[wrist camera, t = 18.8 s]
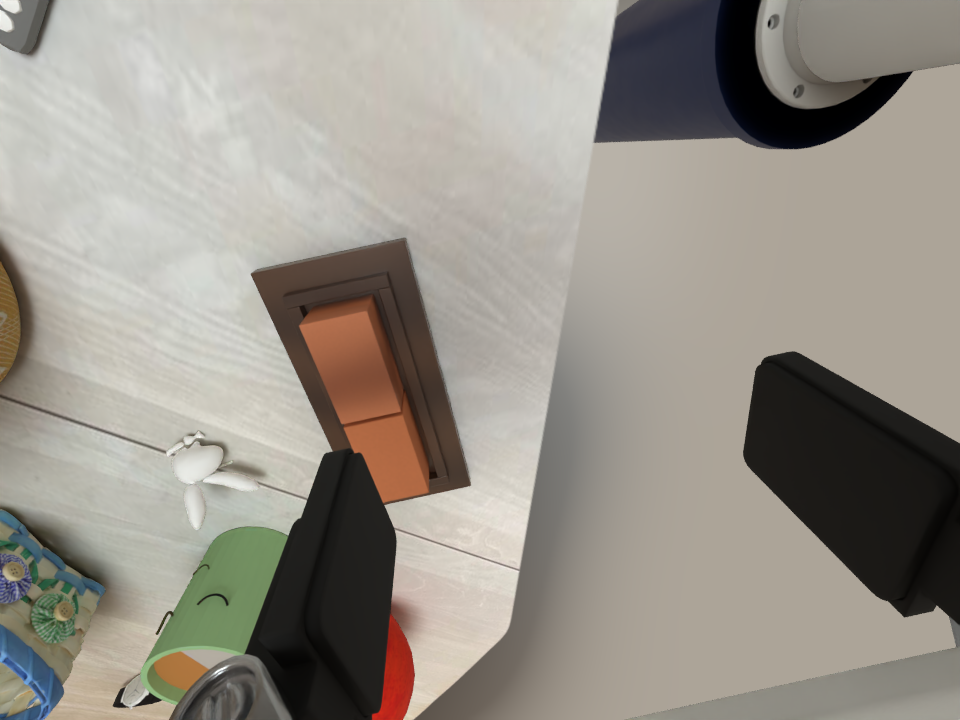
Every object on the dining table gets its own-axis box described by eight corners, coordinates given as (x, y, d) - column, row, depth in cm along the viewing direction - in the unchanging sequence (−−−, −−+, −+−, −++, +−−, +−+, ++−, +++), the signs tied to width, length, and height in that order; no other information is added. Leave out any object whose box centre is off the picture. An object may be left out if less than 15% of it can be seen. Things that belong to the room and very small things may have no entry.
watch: (169, 664, 54) (152, 696, 50) (190, 681, 56) (176, 713, 53) (114, 679, 54) (94, 713, 51) (138, 695, 56) (120, 729, 53)
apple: (412, 578, 51) (406, 708, 39) (420, 633, 56) (417, 762, 45) (314, 589, 50) (278, 726, 38) (332, 644, 55) (305, 778, 44)
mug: (264, 512, 44) (210, 629, 33) (321, 567, 48) (290, 685, 38) (165, 554, 45) (83, 680, 34) (231, 604, 50) (176, 728, 39)
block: (351, 401, 37) (342, 428, 34) (405, 389, 37) (402, 415, 34) (380, 474, 41) (376, 504, 38) (429, 463, 41) (429, 493, 38)
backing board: (256, 269, 32) (226, 289, 28) (405, 237, 32) (401, 252, 28) (361, 501, 44) (353, 542, 40) (470, 477, 44) (474, 516, 40)
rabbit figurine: (216, 417, 38) (261, 491, 38) (223, 421, 41) (264, 489, 41) (143, 453, 35) (191, 534, 35) (157, 455, 39) (201, 528, 39)
